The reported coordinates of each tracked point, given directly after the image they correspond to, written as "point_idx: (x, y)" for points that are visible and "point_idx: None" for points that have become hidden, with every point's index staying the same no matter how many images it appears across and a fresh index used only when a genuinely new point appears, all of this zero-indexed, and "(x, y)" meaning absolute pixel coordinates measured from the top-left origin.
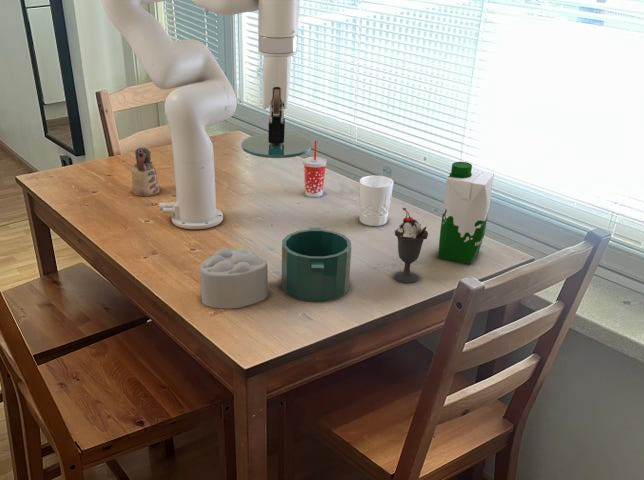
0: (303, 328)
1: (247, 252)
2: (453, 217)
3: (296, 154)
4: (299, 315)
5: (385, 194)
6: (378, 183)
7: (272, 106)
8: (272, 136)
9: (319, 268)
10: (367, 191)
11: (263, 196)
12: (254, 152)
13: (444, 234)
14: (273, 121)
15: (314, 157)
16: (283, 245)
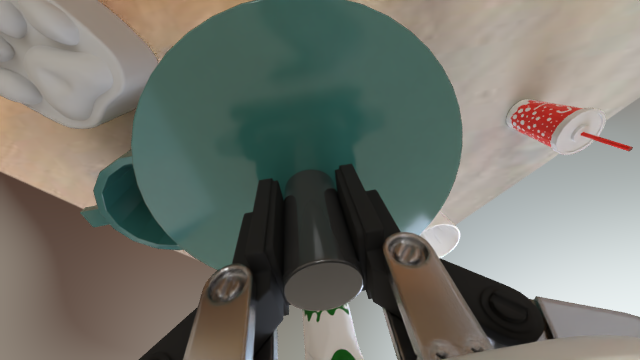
0: (67, 176)
1: (70, 87)
2: (308, 321)
3: (217, 266)
4: (97, 165)
5: None
6: (448, 235)
7: (412, 343)
8: (242, 221)
9: (89, 221)
10: None
11: (537, 15)
12: (135, 124)
13: None
14: (192, 318)
15: (587, 134)
16: (121, 160)
